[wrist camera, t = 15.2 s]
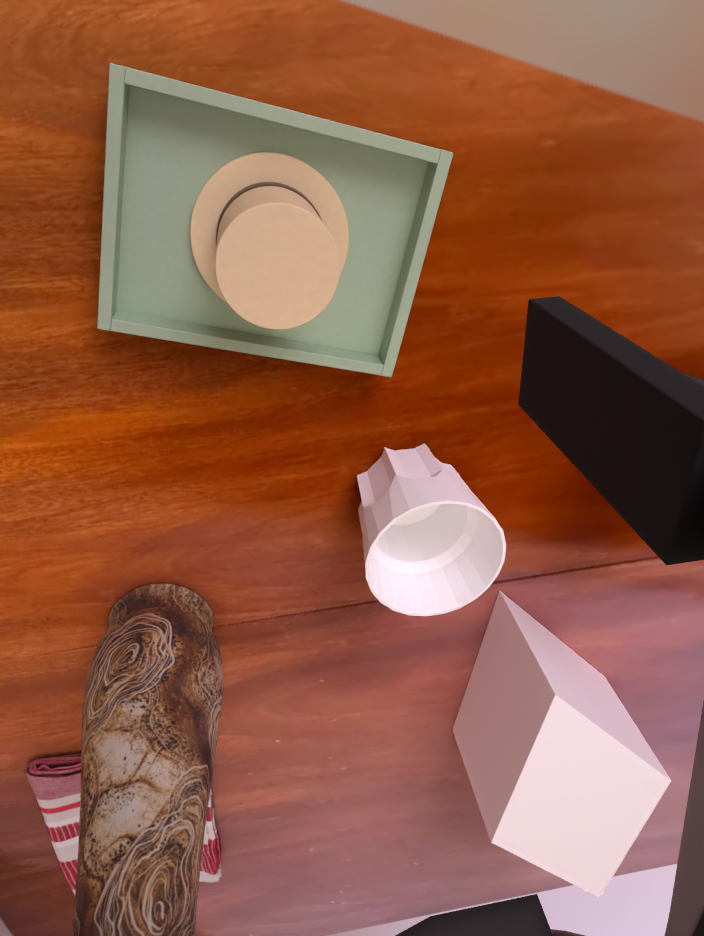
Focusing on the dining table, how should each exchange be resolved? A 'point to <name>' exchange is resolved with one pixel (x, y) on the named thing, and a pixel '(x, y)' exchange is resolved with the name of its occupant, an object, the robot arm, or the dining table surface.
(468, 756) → the block
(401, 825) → the dining table surface
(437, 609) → the cup
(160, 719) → the vase
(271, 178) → the hat
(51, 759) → the dish towel
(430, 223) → the tray
